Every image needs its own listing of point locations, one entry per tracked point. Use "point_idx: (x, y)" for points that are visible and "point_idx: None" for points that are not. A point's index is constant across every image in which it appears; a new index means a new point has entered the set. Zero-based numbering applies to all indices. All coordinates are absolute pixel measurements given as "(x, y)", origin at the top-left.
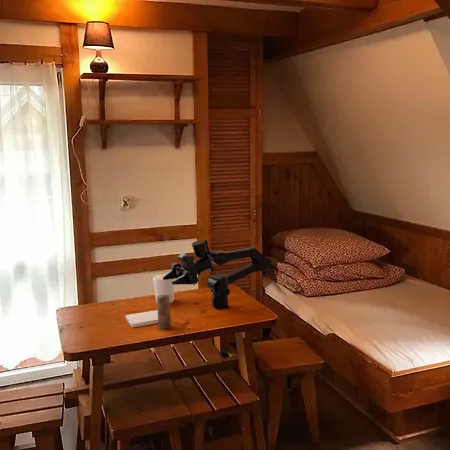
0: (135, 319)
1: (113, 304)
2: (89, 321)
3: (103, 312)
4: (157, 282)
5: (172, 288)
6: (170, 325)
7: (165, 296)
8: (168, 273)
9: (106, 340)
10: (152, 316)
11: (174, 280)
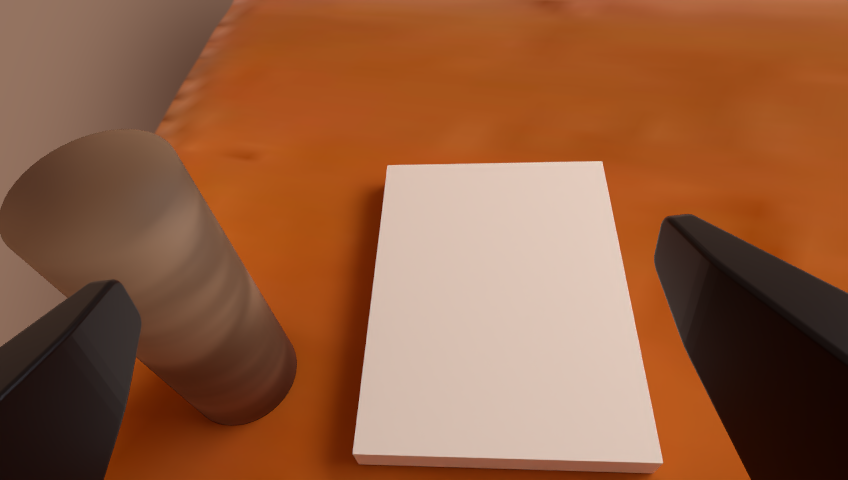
0: (468, 198)
1: None
2: (625, 30)
3: (792, 94)
4: None
5: None
6: (198, 410)
7: (59, 214)
8: (816, 333)
9: (282, 64)
10: (471, 319)
11: (54, 327)
